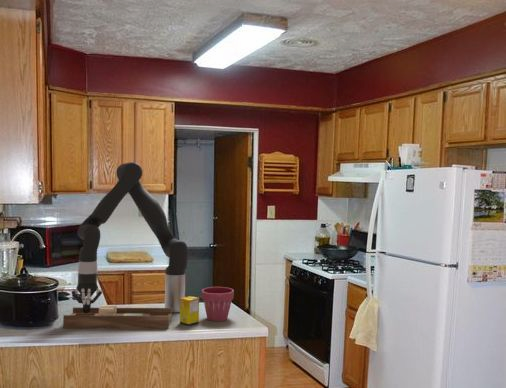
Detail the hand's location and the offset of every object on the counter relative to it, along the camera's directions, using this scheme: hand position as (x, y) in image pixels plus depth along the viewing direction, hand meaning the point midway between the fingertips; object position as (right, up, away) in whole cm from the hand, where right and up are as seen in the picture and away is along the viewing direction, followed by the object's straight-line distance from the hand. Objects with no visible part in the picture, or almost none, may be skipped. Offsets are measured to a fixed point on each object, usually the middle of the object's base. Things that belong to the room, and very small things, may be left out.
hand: (86, 313), depth 204 cm
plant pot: (+54, -6, +13) cm, 56 cm away
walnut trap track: (+13, -5, +1) cm, 14 cm away
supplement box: (+42, -6, +4) cm, 43 cm away
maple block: (+9, -2, +1) cm, 9 cm away
